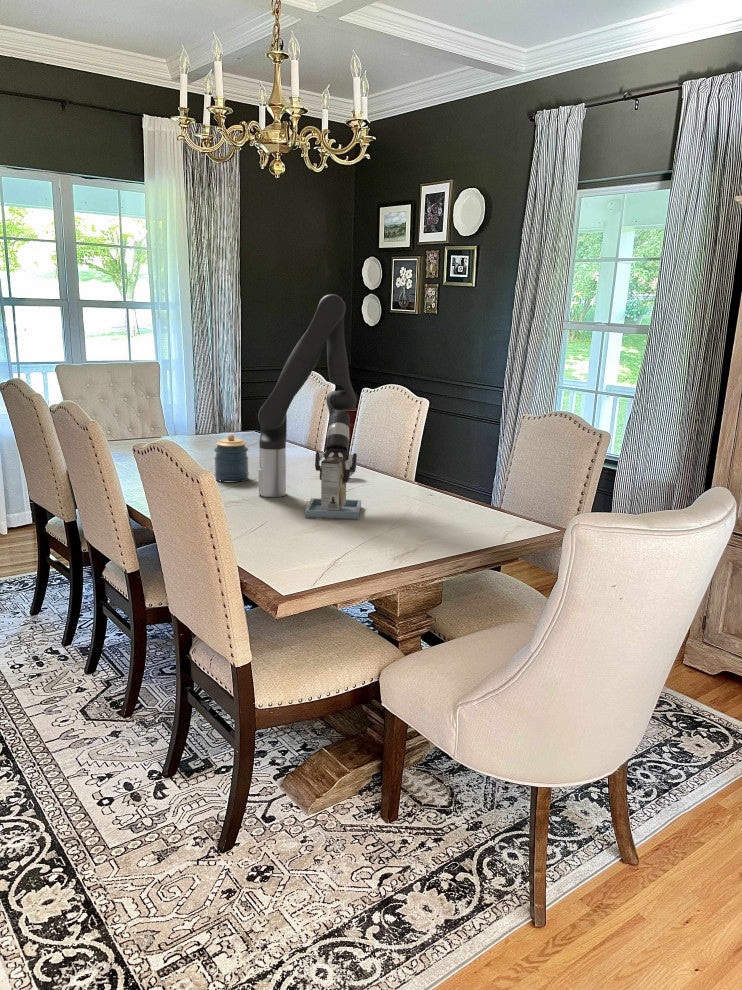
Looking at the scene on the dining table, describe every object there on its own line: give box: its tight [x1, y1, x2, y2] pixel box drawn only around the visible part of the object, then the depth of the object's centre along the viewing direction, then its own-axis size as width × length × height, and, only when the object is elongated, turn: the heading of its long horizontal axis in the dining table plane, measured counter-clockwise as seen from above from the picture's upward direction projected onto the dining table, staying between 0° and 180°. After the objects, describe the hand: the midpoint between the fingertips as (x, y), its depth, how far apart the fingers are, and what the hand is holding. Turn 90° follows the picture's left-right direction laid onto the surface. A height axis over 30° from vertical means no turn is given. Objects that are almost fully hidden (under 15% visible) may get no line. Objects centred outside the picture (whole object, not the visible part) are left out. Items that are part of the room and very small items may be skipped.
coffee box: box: [320, 457, 347, 511], centre depth 245 cm, size 9×6×16 cm
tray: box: [304, 497, 362, 521], centre depth 247 cm, size 17×16×2 cm
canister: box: [213, 433, 250, 482], centre depth 289 cm, size 13×13×18 cm
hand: (334, 480), depth 244 cm, fingers closed on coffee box, 7 cm apart
